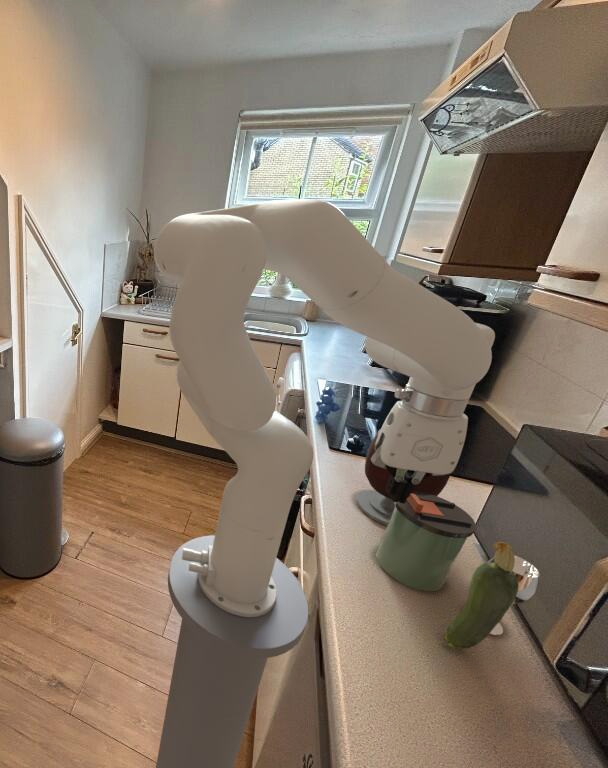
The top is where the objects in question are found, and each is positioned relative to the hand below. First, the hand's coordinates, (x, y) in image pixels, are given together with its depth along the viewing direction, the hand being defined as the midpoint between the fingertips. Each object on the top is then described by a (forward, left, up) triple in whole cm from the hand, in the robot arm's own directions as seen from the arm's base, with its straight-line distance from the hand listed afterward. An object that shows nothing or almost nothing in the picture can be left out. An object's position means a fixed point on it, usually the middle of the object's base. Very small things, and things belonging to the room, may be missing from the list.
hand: (395, 497), depth 69 cm
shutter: (+5, 0, -1) cm, 5 cm away
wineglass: (+13, -9, -14) cm, 21 cm away
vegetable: (+6, -16, -14) cm, 22 cm away
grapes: (+6, +58, -14) cm, 60 cm away
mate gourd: (+9, +18, -14) cm, 25 cm away
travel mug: (+6, 0, -14) cm, 15 cm away
